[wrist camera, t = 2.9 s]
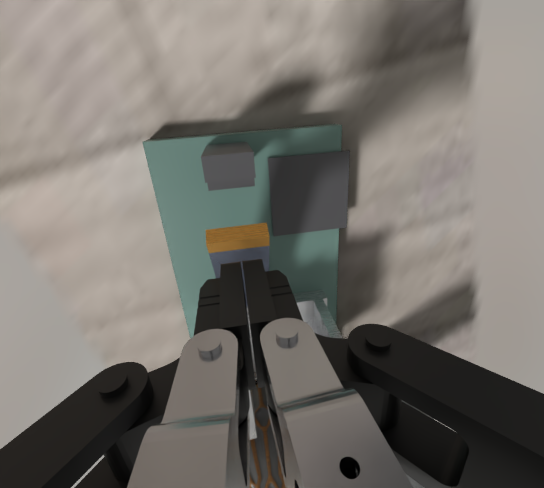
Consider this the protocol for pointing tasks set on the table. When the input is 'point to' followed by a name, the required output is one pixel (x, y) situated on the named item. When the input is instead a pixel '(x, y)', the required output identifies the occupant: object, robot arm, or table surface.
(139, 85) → the table surface
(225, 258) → the blue-grey flat piece
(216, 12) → the table surface
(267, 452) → the vase
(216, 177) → the block
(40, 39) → the table surface
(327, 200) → the board
